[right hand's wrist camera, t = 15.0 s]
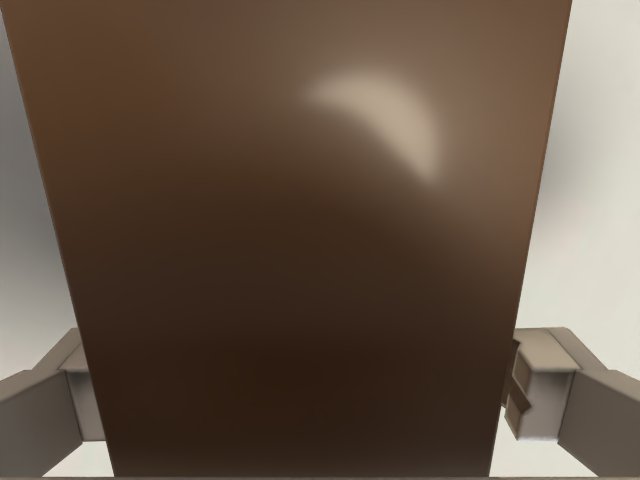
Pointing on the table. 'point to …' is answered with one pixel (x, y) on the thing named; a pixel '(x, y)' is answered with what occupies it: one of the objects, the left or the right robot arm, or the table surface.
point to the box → (293, 221)
